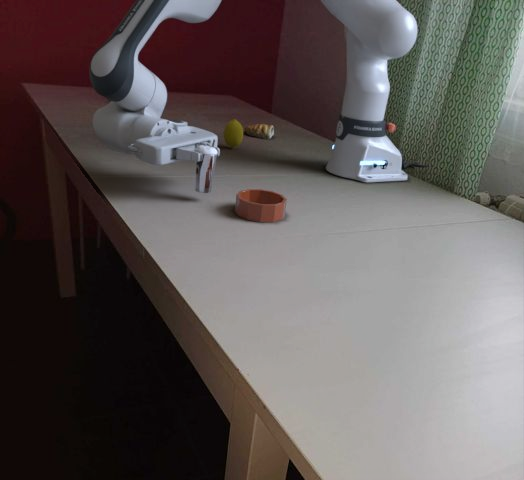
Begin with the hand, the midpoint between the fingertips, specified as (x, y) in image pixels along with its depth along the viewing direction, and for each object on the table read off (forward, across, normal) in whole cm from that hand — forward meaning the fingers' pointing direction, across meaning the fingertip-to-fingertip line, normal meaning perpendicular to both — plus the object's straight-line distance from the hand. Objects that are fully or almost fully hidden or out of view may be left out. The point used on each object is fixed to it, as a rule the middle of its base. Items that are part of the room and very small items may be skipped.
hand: (209, 155), depth 109 cm
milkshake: (-1, 0, +8) cm, 8 cm away
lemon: (-23, +44, +10) cm, 51 cm away
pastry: (-27, +66, +10) cm, 72 cm away
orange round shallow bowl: (+12, +2, +10) cm, 15 cm away
